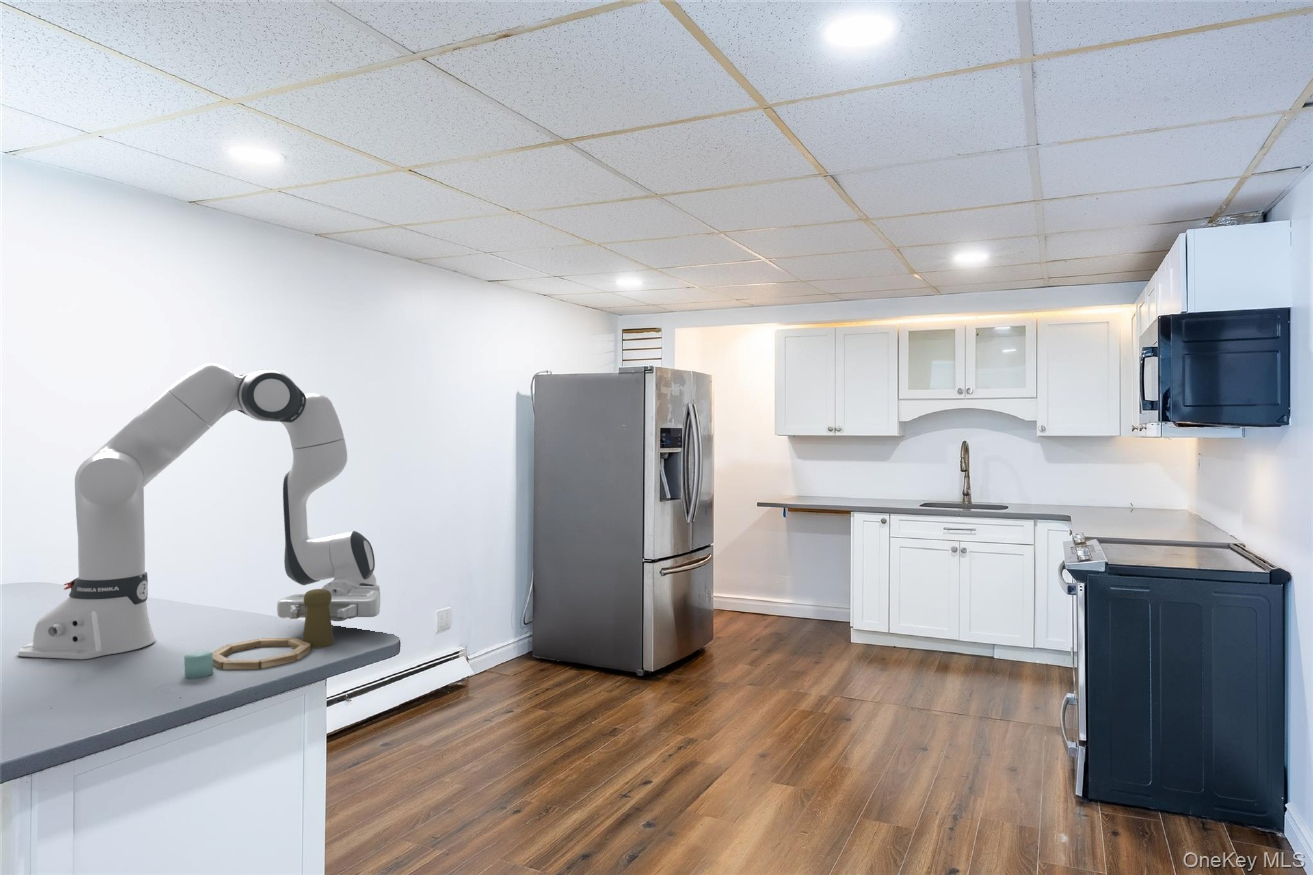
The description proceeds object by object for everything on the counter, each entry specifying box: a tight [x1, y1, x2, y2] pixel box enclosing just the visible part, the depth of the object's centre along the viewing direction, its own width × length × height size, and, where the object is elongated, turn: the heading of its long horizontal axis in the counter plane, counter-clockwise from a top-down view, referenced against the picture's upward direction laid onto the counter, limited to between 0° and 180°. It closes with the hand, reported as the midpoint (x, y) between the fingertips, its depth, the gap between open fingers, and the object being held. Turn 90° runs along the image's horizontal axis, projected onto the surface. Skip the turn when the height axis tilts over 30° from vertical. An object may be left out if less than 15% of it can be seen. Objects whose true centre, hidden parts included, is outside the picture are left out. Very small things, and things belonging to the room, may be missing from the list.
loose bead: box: [183, 651, 214, 679], centre depth 145 cm, size 4×4×4 cm
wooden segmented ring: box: [211, 637, 312, 670], centre depth 156 cm, size 17×17×1 cm
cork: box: [301, 588, 335, 649], centre depth 165 cm, size 6×6×11 cm
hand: (317, 614), depth 165 cm, fingers open, 8 cm apart
